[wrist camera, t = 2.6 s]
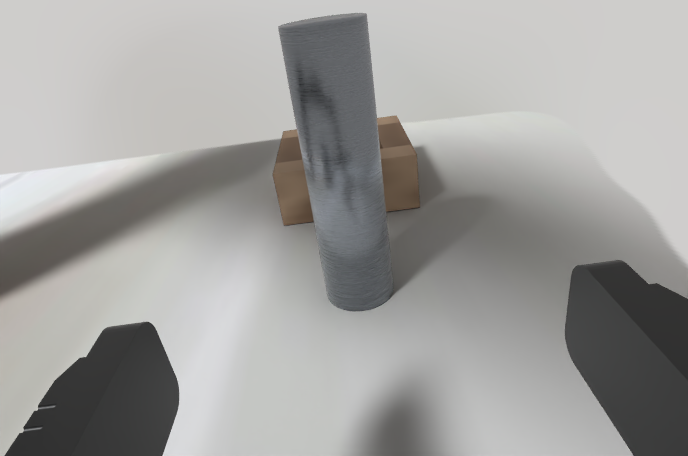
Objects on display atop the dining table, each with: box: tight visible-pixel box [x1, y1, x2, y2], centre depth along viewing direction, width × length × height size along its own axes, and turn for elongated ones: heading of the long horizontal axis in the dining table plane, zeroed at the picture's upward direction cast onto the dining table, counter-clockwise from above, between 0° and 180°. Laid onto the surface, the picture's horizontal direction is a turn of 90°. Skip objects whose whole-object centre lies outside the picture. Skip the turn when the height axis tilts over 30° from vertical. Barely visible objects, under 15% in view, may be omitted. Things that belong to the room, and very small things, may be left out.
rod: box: [278, 13, 393, 311], centre depth 20 cm, size 3×3×12 cm
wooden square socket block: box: [273, 116, 420, 225], centre depth 32 cm, size 9×9×4 cm
